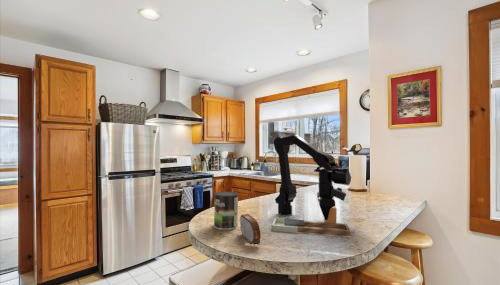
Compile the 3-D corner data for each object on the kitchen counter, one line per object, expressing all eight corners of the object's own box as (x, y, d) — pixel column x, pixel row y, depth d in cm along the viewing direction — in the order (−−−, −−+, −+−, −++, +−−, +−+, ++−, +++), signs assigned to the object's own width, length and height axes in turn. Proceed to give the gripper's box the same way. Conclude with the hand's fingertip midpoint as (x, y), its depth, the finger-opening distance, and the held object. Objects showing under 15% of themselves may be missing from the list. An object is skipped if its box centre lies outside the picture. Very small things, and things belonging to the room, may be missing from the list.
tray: (271, 232, 94) (271, 225, 94) (274, 223, 105) (274, 217, 105) (297, 234, 92) (297, 227, 92) (298, 225, 103) (298, 218, 103)
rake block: (325, 226, 102) (325, 207, 102) (324, 222, 107) (324, 205, 107) (336, 227, 101) (336, 208, 101) (335, 223, 106) (335, 206, 106)
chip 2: (294, 229, 96) (294, 219, 96) (294, 226, 99) (294, 216, 100) (304, 230, 95) (304, 220, 95) (304, 226, 99) (304, 217, 99)
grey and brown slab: (261, 246, 80) (261, 221, 80) (252, 248, 79) (252, 222, 79) (246, 232, 94) (246, 211, 94) (238, 233, 93) (238, 211, 93)
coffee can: (224, 232, 94) (225, 196, 94) (209, 226, 101) (209, 193, 101) (243, 226, 101) (243, 193, 102) (227, 221, 108) (227, 190, 109)
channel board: (296, 234, 92) (296, 228, 92) (297, 225, 103) (297, 219, 103) (352, 239, 87) (352, 232, 87) (346, 229, 99) (346, 223, 99)
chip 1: (284, 228, 96) (284, 218, 97) (285, 225, 100) (285, 216, 100) (294, 229, 96) (294, 219, 96) (294, 226, 99) (294, 216, 100)
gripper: (348, 186, 94) (348, 225, 94) (341, 180, 112) (341, 213, 112) (319, 185, 97) (319, 223, 96) (317, 179, 115) (317, 211, 114)
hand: (325, 217), depth 105 cm, fingers open, 6 cm apart
